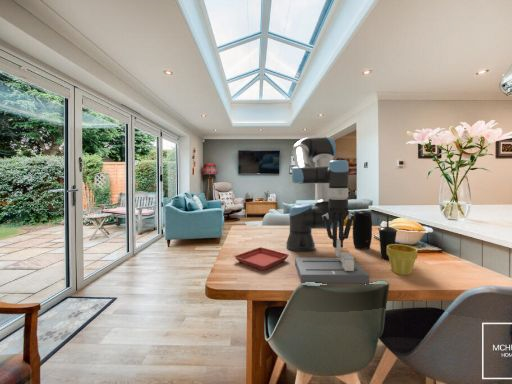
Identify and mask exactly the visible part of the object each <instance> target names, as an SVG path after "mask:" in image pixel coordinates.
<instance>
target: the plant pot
mask: <svg viewBox="0 0 512 384" xmlns="http://www.w3.org/2000/svg"><path fill="white" fill-rule="evenodd" d="M418 253H419V252H418V249H417V248H416V247H414V246H411V245H406V244H400V243H399V244H398V243H395V244H391V245H388V246H387V255H388V256H389V260H388V261H389V263H390V268H391V269H390V270H391V271H392V272H393V273H394V274H397V275H402V276H409V275H411V274H412V271H413V268H414V265H415V261H416V260H417V259H418V255H419V254H418Z"/></svg>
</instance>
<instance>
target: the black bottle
mask: <svg viewBox="0 0 512 384" xmlns="http://www.w3.org/2000/svg"><path fill="white" fill-rule="evenodd" d="M389 218H390V215H386V226H382V227H379V228H378V235H379V236H378V237H379V248H380V258H381V259H382V260H384V261H390V260H389V256H388V255H387V246H388V245H391V244H396V239H397V232H398V230H397V229H396V228H394V227H391V226H389V223H390V221H389V220H390V219H389Z"/></svg>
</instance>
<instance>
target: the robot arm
mask: <svg viewBox="0 0 512 384" xmlns="http://www.w3.org/2000/svg"><path fill="white" fill-rule="evenodd" d="M336 154H337V145H336V141H335V139H334V138H333V137H328V136H324V137H322V136H321V137H305V138H301V139H300V140H298V141H297V142H296V143H294V145H293V146H292V149H291V155H292V157H293V159H294V166H293V167H292V168H291V182H292V184H299V185H301V184H316V193H317V194H316V195H317V196H316V197H317V198H316V199H317V201H316V202H314V203H315V204H314V206H313V205H312V203H303V204H295V205H293V206H291V207H290V208H289V214H288V216H289V235H288V238H287V241H286V244H285V245H286V246H285V247H286V248H287V249H288V250H290V251H294V252H310V251H314V250H315V249H316V242H315V241H314V238H313V234H312V230H313V229H316V230H317V229H318V230H326V233H327V237H328V238H329V239H330V240H332V247H333V248H334V255H335V256H336V257H338V256H341V248H344V241H345V240H347V239H348V238H349V235H350V231H351V228H352V225H353V220H354V218H355V216H354V214H353V215H352V214H351V213H350V211H349V200H348V198H349V174H350V173H349V172H350V171H349V170H350V167H349V161H348V160H346V159H344V160H343V159H338V160H336V159H335V160H334V157H336ZM310 159H312V162H313V163H315V166H312V164H311V160H310ZM346 219H347V220H346ZM345 220H346V223H345ZM344 224H345V226H344Z"/></svg>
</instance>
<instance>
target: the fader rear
mask: <svg viewBox="0 0 512 384" xmlns="http://www.w3.org/2000/svg"><path fill="white" fill-rule="evenodd" d="M342 255H350V250H349V249H348V248H346V247H343V248H341V256H337V258H338V259H339V260H340V261H341V262H342Z"/></svg>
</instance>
